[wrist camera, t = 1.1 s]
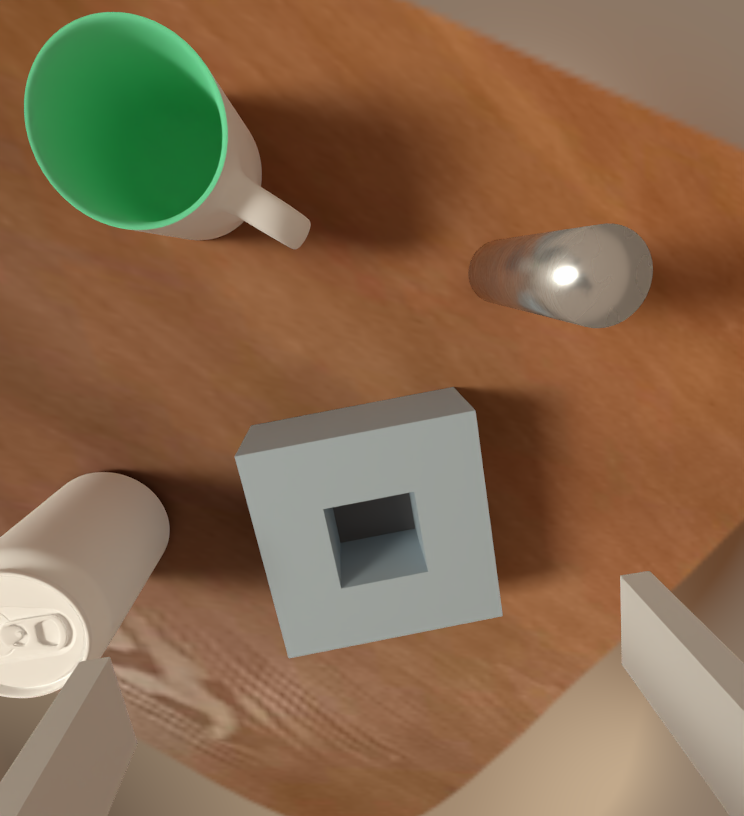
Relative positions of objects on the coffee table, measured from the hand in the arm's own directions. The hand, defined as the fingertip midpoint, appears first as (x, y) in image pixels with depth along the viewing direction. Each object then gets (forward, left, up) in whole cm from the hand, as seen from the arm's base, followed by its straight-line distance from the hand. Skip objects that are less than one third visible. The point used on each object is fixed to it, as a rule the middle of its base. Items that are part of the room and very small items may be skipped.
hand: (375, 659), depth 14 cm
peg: (-7, +11, -24) cm, 27 cm away
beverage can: (+5, -18, -24) cm, 30 cm away
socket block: (+7, 0, -24) cm, 24 cm away
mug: (-15, -5, -24) cm, 29 cm away
